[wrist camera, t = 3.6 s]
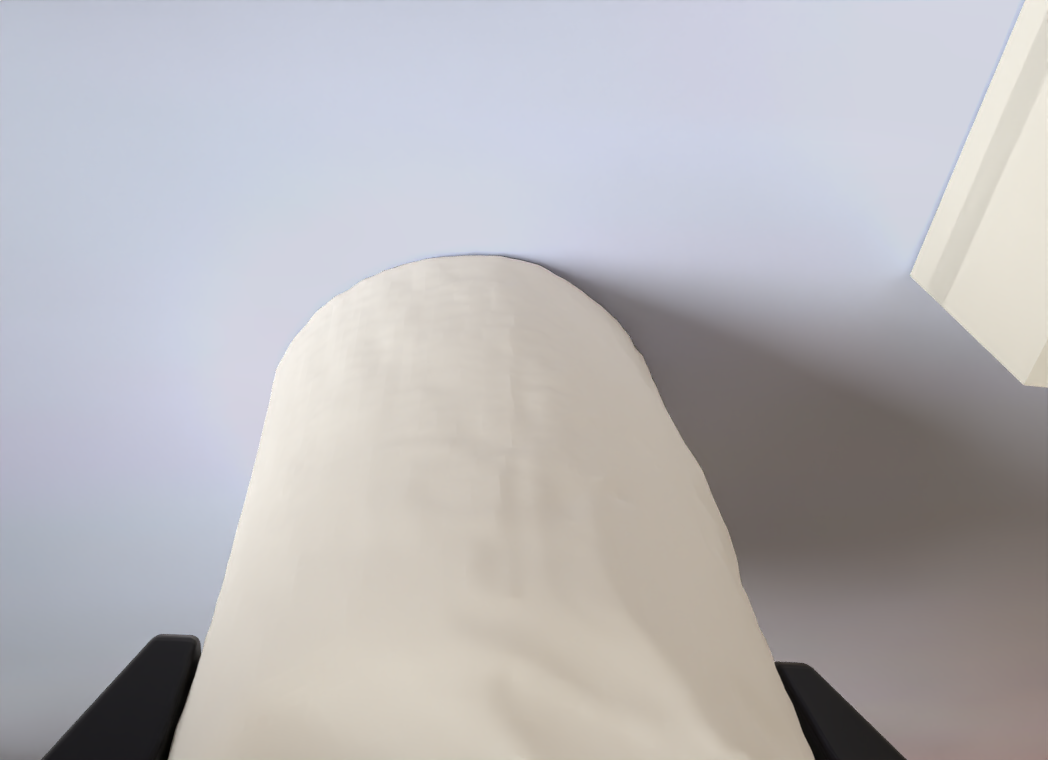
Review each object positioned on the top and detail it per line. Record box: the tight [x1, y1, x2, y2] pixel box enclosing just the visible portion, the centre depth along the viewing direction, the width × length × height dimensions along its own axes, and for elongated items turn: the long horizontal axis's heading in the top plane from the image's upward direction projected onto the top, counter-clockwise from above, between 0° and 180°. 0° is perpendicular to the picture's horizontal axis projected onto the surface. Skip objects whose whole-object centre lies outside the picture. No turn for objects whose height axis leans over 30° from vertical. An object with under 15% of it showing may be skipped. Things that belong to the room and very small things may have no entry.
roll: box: [168, 255, 815, 760], centre depth 9 cm, size 6×12×6 cm
